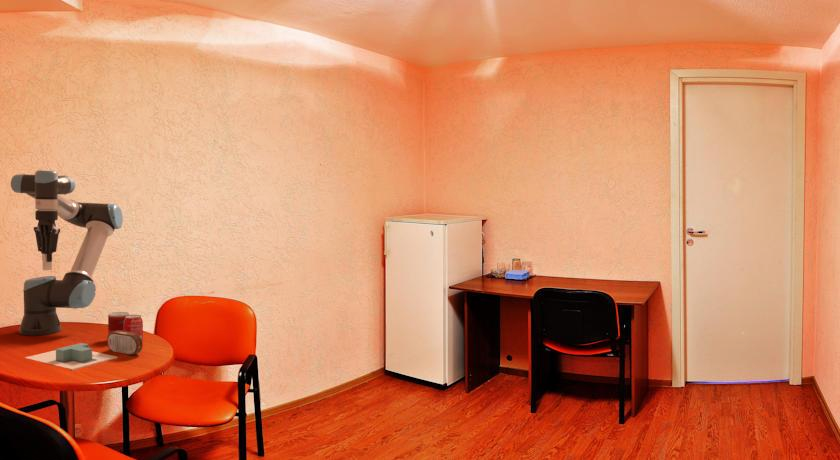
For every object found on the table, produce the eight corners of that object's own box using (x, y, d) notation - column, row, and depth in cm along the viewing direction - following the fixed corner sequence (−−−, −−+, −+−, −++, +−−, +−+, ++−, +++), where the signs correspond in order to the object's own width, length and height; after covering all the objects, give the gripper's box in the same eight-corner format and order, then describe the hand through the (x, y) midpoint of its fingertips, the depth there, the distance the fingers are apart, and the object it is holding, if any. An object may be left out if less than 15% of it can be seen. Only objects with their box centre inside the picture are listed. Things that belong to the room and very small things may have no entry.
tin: (143, 355, 237) (143, 333, 236) (136, 357, 234) (136, 335, 233) (112, 350, 242) (112, 328, 241) (105, 352, 239) (105, 330, 238)
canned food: (121, 343, 252) (121, 316, 251) (103, 341, 253) (103, 314, 253) (133, 338, 259) (133, 312, 258) (116, 337, 261) (116, 311, 260)
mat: (70, 347, 243) (70, 346, 243) (117, 358, 232) (117, 356, 232) (24, 358, 227) (24, 357, 227) (71, 370, 215) (71, 369, 215)
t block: (81, 353, 234) (81, 342, 234) (99, 357, 230) (99, 346, 230) (55, 359, 225) (55, 348, 225) (74, 364, 221) (74, 353, 221)
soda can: (127, 343, 252) (127, 314, 251) (145, 343, 252) (145, 314, 251) (120, 348, 245) (120, 318, 244) (139, 348, 245) (139, 318, 244)
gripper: (26, 209, 243) (27, 269, 245) (48, 211, 238) (48, 272, 239) (45, 209, 250) (45, 267, 252) (66, 210, 244) (67, 270, 246)
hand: (47, 269), depth 246 cm, fingers closed
